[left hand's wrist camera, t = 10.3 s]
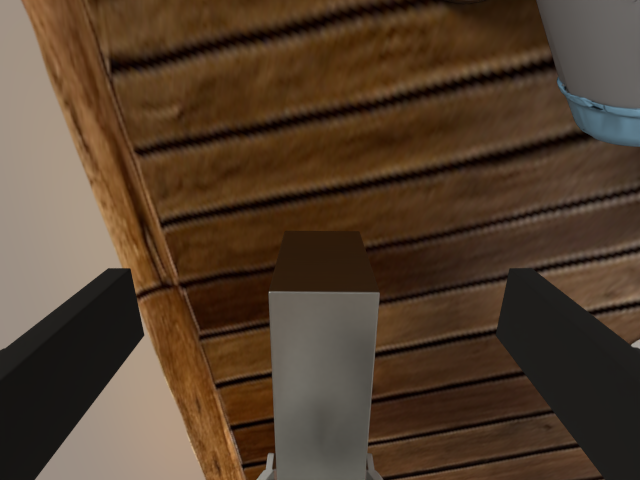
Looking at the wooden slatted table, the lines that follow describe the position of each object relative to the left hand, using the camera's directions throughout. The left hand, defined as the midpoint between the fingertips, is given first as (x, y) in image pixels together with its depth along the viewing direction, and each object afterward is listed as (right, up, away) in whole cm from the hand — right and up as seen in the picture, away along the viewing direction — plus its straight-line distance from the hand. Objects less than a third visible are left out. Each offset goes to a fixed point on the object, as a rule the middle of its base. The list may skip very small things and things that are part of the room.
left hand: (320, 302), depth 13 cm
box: (0, -8, +21) cm, 22 cm away
